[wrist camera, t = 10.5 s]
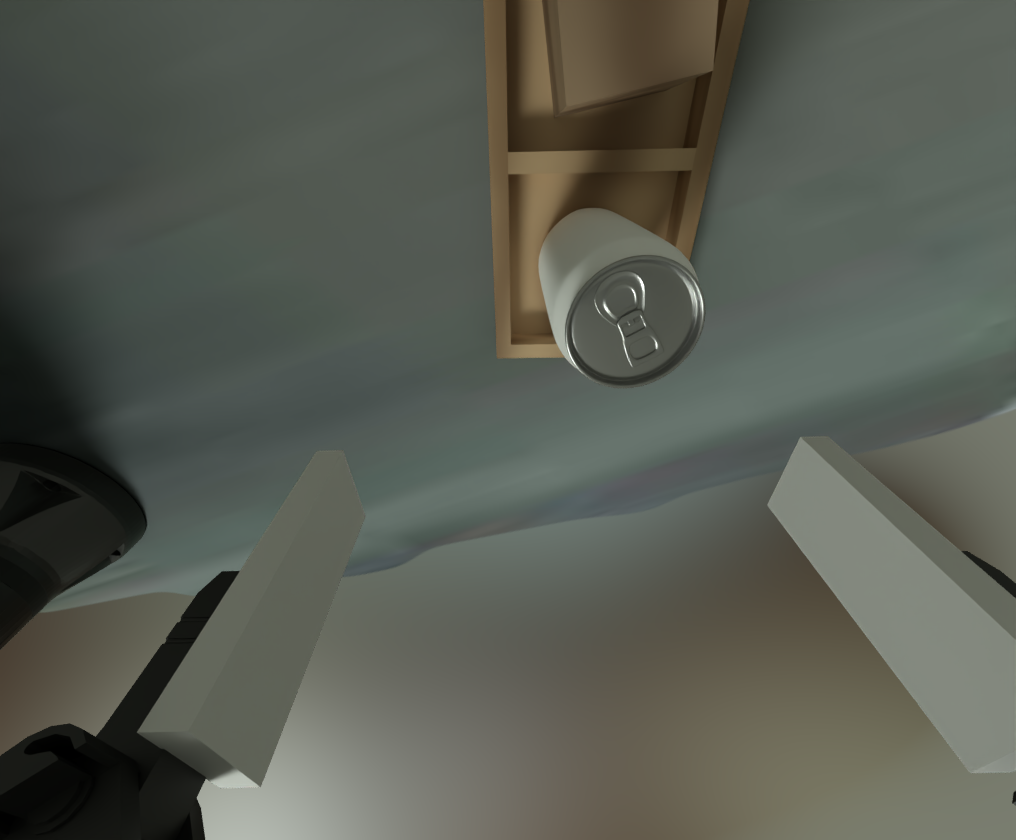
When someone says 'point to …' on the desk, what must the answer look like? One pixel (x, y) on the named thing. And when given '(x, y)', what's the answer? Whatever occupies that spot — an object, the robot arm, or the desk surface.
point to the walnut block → (625, 48)
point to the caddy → (587, 159)
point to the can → (619, 298)
